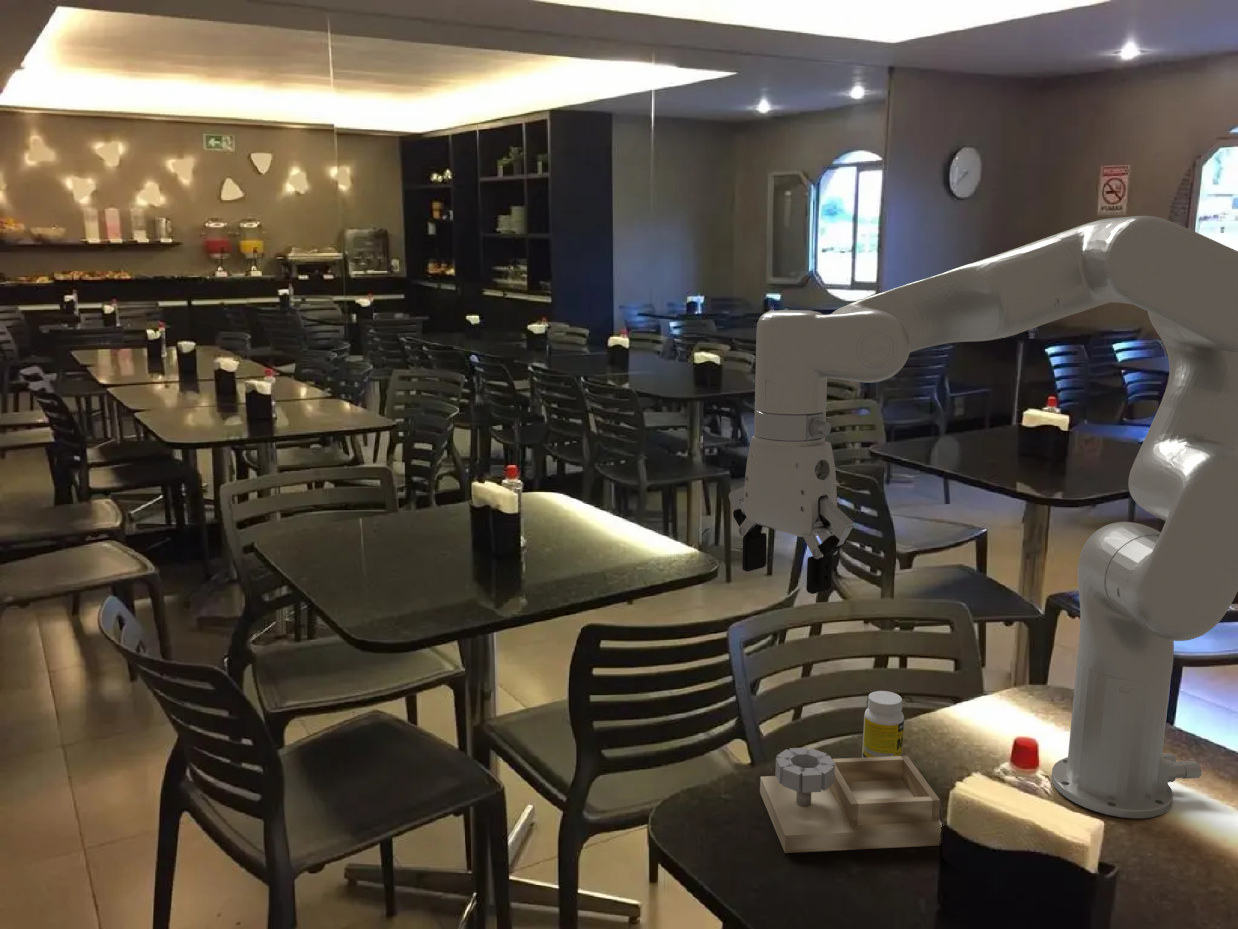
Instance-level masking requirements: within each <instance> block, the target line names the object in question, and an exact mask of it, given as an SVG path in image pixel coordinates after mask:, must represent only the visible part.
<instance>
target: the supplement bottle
mask: <svg viewBox="0 0 1238 929" xmlns="http://www.w3.org/2000/svg"><path fill="white" fill-rule="evenodd" d="M902 710H903V698H902V696H900V695H899V694H897V693H896V692H892V691H886V690H877V691H873V692H871V693H869V694H868V698H867V708H866V709H865V712H864V714H863V735H862V737H863V738H862V750H861V751H862V752H861V753H862V754H861V758H865V757H889V756H903V746H904V728H905V716H904V713H903V712H902Z"/></svg>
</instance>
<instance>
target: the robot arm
mask: <svg viewBox="0 0 1238 929" xmlns="http://www.w3.org/2000/svg"><path fill="white" fill-rule="evenodd" d="M1110 303H1118V304H1128V305H1133V306H1136V307H1137V308H1140V309H1141V310H1144V311H1145V312H1146V311H1147V315H1148V318H1149V321H1150V323H1151V325H1152V327H1153V328H1154V330H1155V331H1156V333H1157V335H1158V336H1159V337H1160V340H1161V341H1162V343H1163V344H1162V345H1164V348H1165V351H1166V354H1167V358H1168V364H1169V365H1168V366H1169V367H1168V368H1169V371H1168V372H1169V374H1168V380H1167V385H1166V387H1165V392H1164V393H1163V396H1162V399H1161V401H1160V405H1159V407H1158V408H1157V411H1156V413H1155V415H1154V418H1153V420H1152V422H1151V424H1150V427H1149V428H1148V431H1147V433H1146V435H1145V437H1144V439H1143V442H1142V444H1141V446H1140V449H1138V453H1137V455H1136V457H1135V459H1134V461H1133V463H1132V467H1131V469H1130V471H1129V475H1128V483H1127V484H1128V490H1129V494H1130V497H1131V498H1132V499H1133V501H1134V502H1135V504H1137V505H1138V506H1139V507H1140V508H1142V509H1143V510H1144V511H1145V512H1148V513H1149V514H1150V515H1152V516H1154V517H1157V518H1158V519H1161V520H1162V521H1165V522H1164V524H1163V527H1162V529H1161V531H1159V530H1157V529H1155V528H1153V527H1150V526H1147V525H1145V524H1142V523H1138V522H1137V523H1136V522H1131V521H1117V522H1113V523H1109V524H1106V525H1104V526H1102V527H1100V528H1099V529H1097V530H1096V531H1094V532H1093V533H1092V534H1091V535H1090V536H1089V537H1088V538H1087V540H1086V541H1085V542H1084V544H1083V547H1082V548H1081V551H1080V553H1079V554H1080V555H1079V557H1078V565H1077V585H1078V598H1079V599H1078V600H1079V610H1080V612H1079V614H1080V615H1079V618H1080V619H1079V620H1080V621H1079V622H1080V623H1079V637H1078V649H1077V657H1076V658H1077V659H1076V668H1075V677H1074V678H1075V680H1074V689H1073V690H1074V691H1073V700H1072V709H1071V710H1072V711H1071V722H1070V733H1069V743H1068V752H1067V754H1068V755H1067V757H1064V758H1062V759H1060V760H1058V761H1056V762H1055V763H1054V764H1053V766H1052V769H1051V776H1050V777H1051V782H1052V783H1053V786H1054V787H1055V789H1057V791H1058V792H1059V793H1060V794H1061V795H1062V796H1064V797H1065V798H1066V799H1067V800H1069V801H1071V802H1073V803H1074V804H1076V805H1078V806H1081V807H1082V808H1085V809H1088V810H1090V811H1093V812H1096V813H1099V814H1102V815H1103V814H1104V815H1107V816H1112V817H1117V818H1124V819H1148V818H1154V817H1159V816H1161V815H1163V814H1165V813H1167V812H1168V811H1169V810H1170V809H1171V808H1172V805H1173V802H1174V801H1173V800H1174V799H1173V798H1174V792H1173V790H1172V788H1171V786H1170V785H1169V783H1174V782H1175V781H1176V779H1182V780H1183V779H1184V780H1185V779H1187V780H1188V779H1200V778H1201V776H1202V768H1201V765H1200V763H1198V762H1197V760H1196V761H1195V760H1185V761H1184V760H1182V761H1180V760H1179V761H1177V757H1176V756H1175V754H1174V753H1172V752H1169V753H1168V752H1167V753H1166V752H1165V753H1163V750H1164V749H1163V748H1164V741H1165V732H1166V724H1167V714H1168V706H1169V705H1168V704H1169V698H1170V687H1171V680H1172V674H1173V668H1174V666H1173V664H1174V656H1175V651H1174V650H1175V647H1174V646H1175V642H1185V641H1191V640H1194V639H1197V638H1199V637H1202V636H1204V635H1205V634H1207V633H1208V632H1210V631H1211V630H1212V629H1214V628H1215V627H1216V626H1217V625H1218V624H1219V623H1220V621H1221V620H1222V619H1223V617H1224V616H1225V615H1226V613H1227V611H1228V610H1229V608H1230V607H1231V605H1232V603H1233V601H1234V600H1235V598H1236V595H1237V593H1238V250H1236V249H1234V248H1232V247H1230V246H1228V245H1225V244H1222V243H1220V242H1218V241H1216V240H1214V239H1212V238H1209V237H1207V236H1205V235H1203V234H1200V233H1199V232H1197V231H1195V230H1193V229H1190V228H1187V227H1186V226H1183V225H1181V224H1179V223H1176V222H1173V221H1171V220H1168V219H1165V218H1163V217H1158V216H1152V215H1133V216H1125V217H1124V216H1123V217H1110V218H1109V217H1108V218H1105V219H1104V218H1102V219H1099V220H1095V221H1092V222H1091V221H1090V222H1088V223H1084V224H1082V225H1078V226H1075V227H1073V228H1071V229H1067V230H1064V231H1062V232H1059V233H1056V234H1053V235H1050V236H1047V237H1045V238H1042V239H1039V240H1036V241H1033V242H1030V243H1027V244H1025V245H1022V246H1019V247H1017V248H1016V247H1015V248H1014V249H1010V250H1007V251H1005V252H1001V253H999V254H995V255H992V256H989V257H987V258H984V259H980V260H977V261H975V262H971V263H967V264H964V265H961V266H959V267H956V268H953V269H950V270H947V271H945V272H942V273H939V274H936V275H932V276H930V277H926V278H924V279H921V280H917V281H914V282H911V283H907V284H904V285H900V286H898V287H895V288H892V289H888V290H886V291H883V292H880V293H877V294H875V295H872V296H868V297H865V298H862V299H860V300H857V301H854V302H851V303H849V304H847V305H844V306H842V307H839V308H837V309H836V310H834V311H833V312H832V313H831V314H823V313H822V312H819V311H814V310H801V309H799V310H798V309H797V310H795V309H789V310H787V309H786V310H783V309H782V310H771V311H767V312H764V313H763V314H761V316H760V317H759V318H758V321H757V323H756V324H757V325H756V333H755V334H756V335H755V336H756V337H755V338H756V339H755V340H756V341H755V377H754V378H755V381H754V382H755V384H754V385H755V387H754V388H755V389H754V390H755V391H754V424H753V425H754V426H753V428H754V429H753V430H754V431H753V432H754V434H753V436H751V439H750V444H749V449H748V453H747V460H746V466H745V467H746V468H745V476H744V477H745V478H744V486H742V487H739V488H737V489H734V490H733V491H730V492H729V493H728V499H729V502H730V506H731V508H732V510H733V512H732V515H733V518H734V520H735V522H736V523H737V526H738V533H739V535H740V536H741V537H742V559H741V560H742V561H741V562H742V563H741V564H742V565H741V566H742V568H741V569H742V571H744V572H751V571H756V570H760V569H763V568H765V567H766V566H767V539H768V538H767V533H766V532H763V530H764V529H765V528H768V529H771V530H774V531H778V532H781V533H785V534H789V535H792V536H795V537H800V538H803V539H804V541H805V543H806V546H807V547H808V549H809V552H810V553H811V555H812V556H808V557H807V560H806V561H807V562H806V563H807V564H806V585H805V586H806V589H805V590H806V592H807V594H811V595H814V594H818V593H821V592H824V591H828V590H830V589H831V587H832V574H833V572H832V568H833V566H832V565H833V556H834V555H837V554H838V551H839V550H840V549H841V548H842V547H843V546H844V545H845V544H846V543H847V538H848V536H849V535H850V533H851V531H852V530H853V527H854V522H853V520H852V519H851V518H849V516H848V515H847V514H845V512H843V511H842V510H841V509H840V508H839V507H838V496H837V495H838V494H837V493H838V491H837V475H836V474H837V472H836V463H835V458H834V457H835V456H834V452H833V447H832V443H831V442H829V441H826V436H828V435H829V434H830V433H831V430H832V425H831V424H830V422H828V421H826V420H827V419H826V418H827V398H828V397H827V396H828V394H827V393H828V391H827V389H828V379H833V380H842V381H843V380H844V381H849V382H856V383H869V384H870V383H871V384H872V383H878V382H883V381H886V380H888V379H890V378H892V377H893V376H895V375H896V374H898V373H899V372H900V371H901V370H902V368H903V367H904V366H905V365H906V362H908V358H909V357H910V354H911V353H912V352H916V351H918V350H922V349H925V348H926V349H927V348H930V347H935V346H939V345H946V344H951V343H965V342H966V343H967V342H968V343H969V342H985V341H986V342H987V341H993V340H998V339H1002V338H1003V339H1005V338H1009V337H1012V336H1015V335H1018V334H1020V333H1021V334H1022V333H1024V332H1026V331H1029V330H1033V329H1035V328H1038V327H1040V326H1043V325H1045V324H1048V323H1052V322H1055V321H1058V320H1061V319H1063V318H1066V317H1070V316H1071V315H1076V314H1079V313H1083V312H1084V311H1088V310H1091V309H1094V308H1096V307H1099V306H1103V305H1107V304H1110ZM830 531H831V532H830ZM817 536H818V538H819V539H820V542H821V543H820V542H819V539H818V538H817Z"/></svg>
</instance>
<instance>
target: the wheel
mask: <svg viewBox="0 0 1238 929" xmlns="http://www.w3.org/2000/svg"><path fill="white" fill-rule="evenodd" d="M832 759H833V758H832V757H831V756H830V755H828V753H826V752H823V751H820V750H818V749H815V748H812V747H811V748H809V749H808V747H792V748H791V747H790V748H789V749H785V750H783V751H781V752H780V753H779V754H777V755H776V757H775V775H774V776H776V777H777V779H778V781H779V784H782V786H784V787H786V788H789V789H791V790H794V791H797V792H799V791H801V790H802V793H811V792H821V790H823V791H825V790H826V789H828V788H829V787H830V786H831V785H833V784H834V775H835V764H834V762H833V760H832Z"/></svg>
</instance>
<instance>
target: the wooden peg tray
mask: <svg viewBox="0 0 1238 929" xmlns="http://www.w3.org/2000/svg"><path fill="white" fill-rule="evenodd" d="M831 759H832V760H833V762H834V764H835V775H834V784H833V785H831V786H830V787H829V788H828V789H826V790H825V791H823V790H821V792H811V793H802V790H801V791H799V792H797V791H794V790H791V789H789V788H786V787H784V786H782V784H779V781H778V779H777V777H776V775H770V776H769V775H767V776H766V775H765V776H760V782H759V783H760V785H759V794H760V796H761V798H762V801H763V804H764V805H765V808H766V810H767V813H768V815H769V817H770V818H769V819H770V821H771V823H772V825H773V828H774V830H775V832H776V835H777V837H778V839H779V842H780V844H781V847H782V849H783V850H782V851H783V852H784V854H789V853H791V854H792V853H809V852H810V853H811V852H831V851H849V850H850V851H853V850H869V849H870V850H871V849H872V850H873V849H891V848H893V849H894V848H910V847H911V848H912V847H931V846H932V847H933V846H934V847H935V846H940V845H939V841H940V833H941V827H942V824H943V823H942V822H941V820H940V810H941V809H940V808H941V807H940V806H941V799H940V798H939V797H938V795H937V794H936V792H935V791H934V790H933V788H932V787H931V786H930V784H929V783H928V782H927V780H926V779H925V777H924V776H923V775H922V773H921V772H920V770H919V769H918V768H917V767H916V765H915V764H914V763H913V762H912V760H911V759H910V756H908V755H902V756H889V757H865V758H862V757H848V758H847V757H845V758H831Z"/></svg>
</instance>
